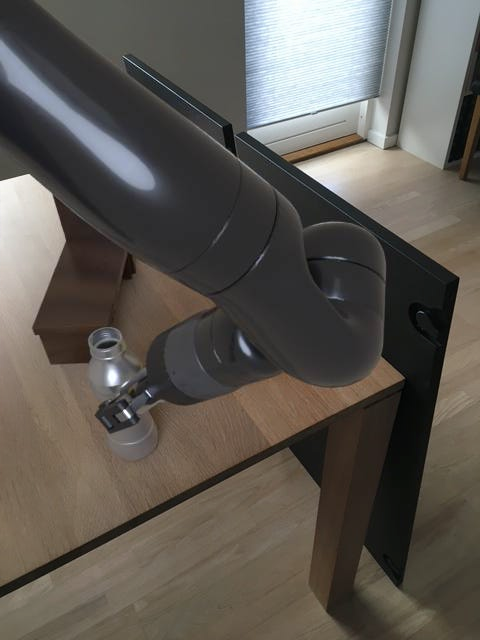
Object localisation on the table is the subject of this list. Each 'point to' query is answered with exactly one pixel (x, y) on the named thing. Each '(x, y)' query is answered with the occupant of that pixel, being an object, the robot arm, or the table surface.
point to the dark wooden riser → (80, 290)
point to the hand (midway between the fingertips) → (133, 387)
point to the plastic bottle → (106, 380)
